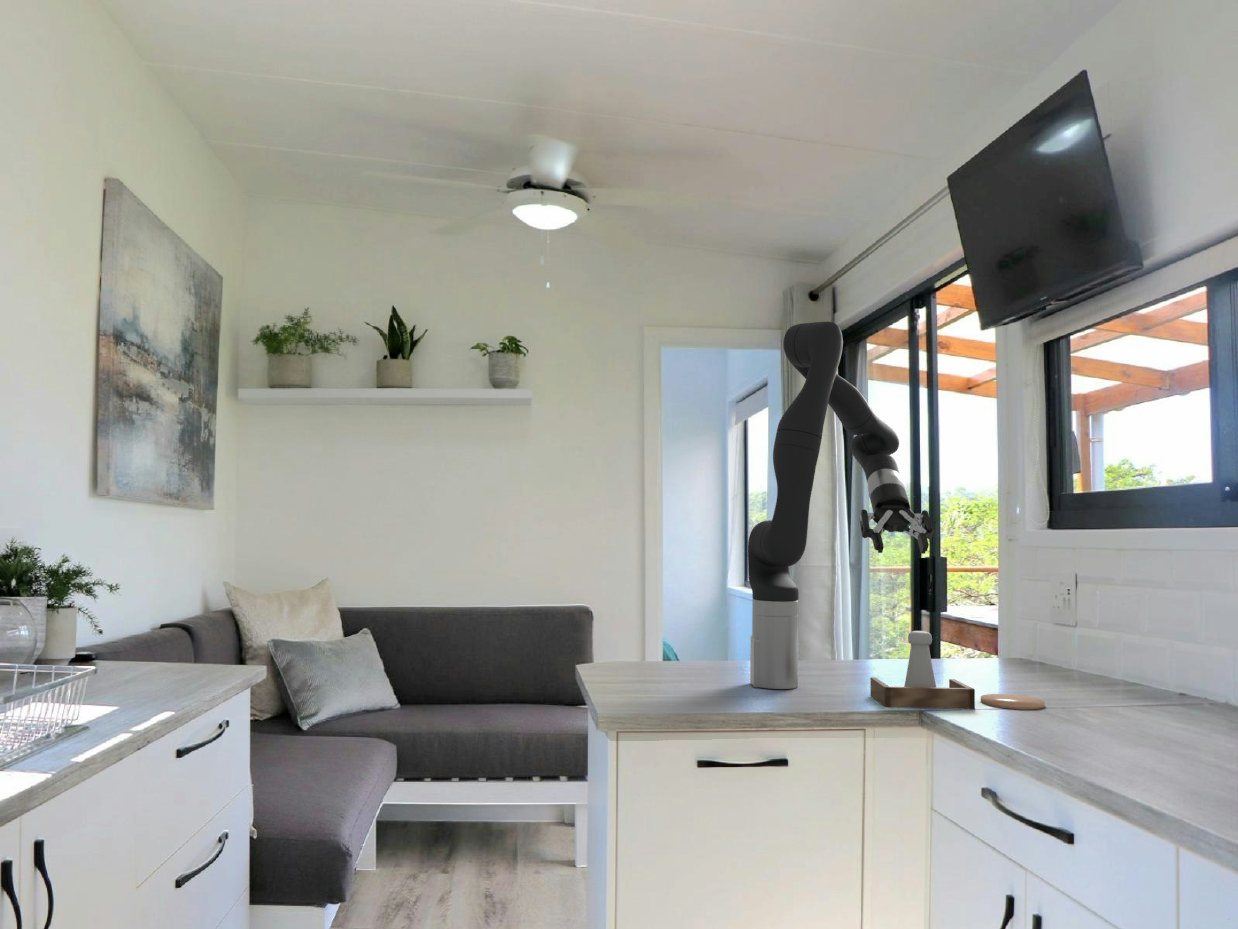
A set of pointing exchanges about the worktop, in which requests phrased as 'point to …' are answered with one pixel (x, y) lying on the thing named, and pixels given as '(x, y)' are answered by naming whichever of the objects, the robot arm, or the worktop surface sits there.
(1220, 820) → the worktop surface
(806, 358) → the robot arm
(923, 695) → the tray
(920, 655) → the salt shaker
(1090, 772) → the worktop surface
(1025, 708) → the trivet
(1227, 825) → the worktop surface
